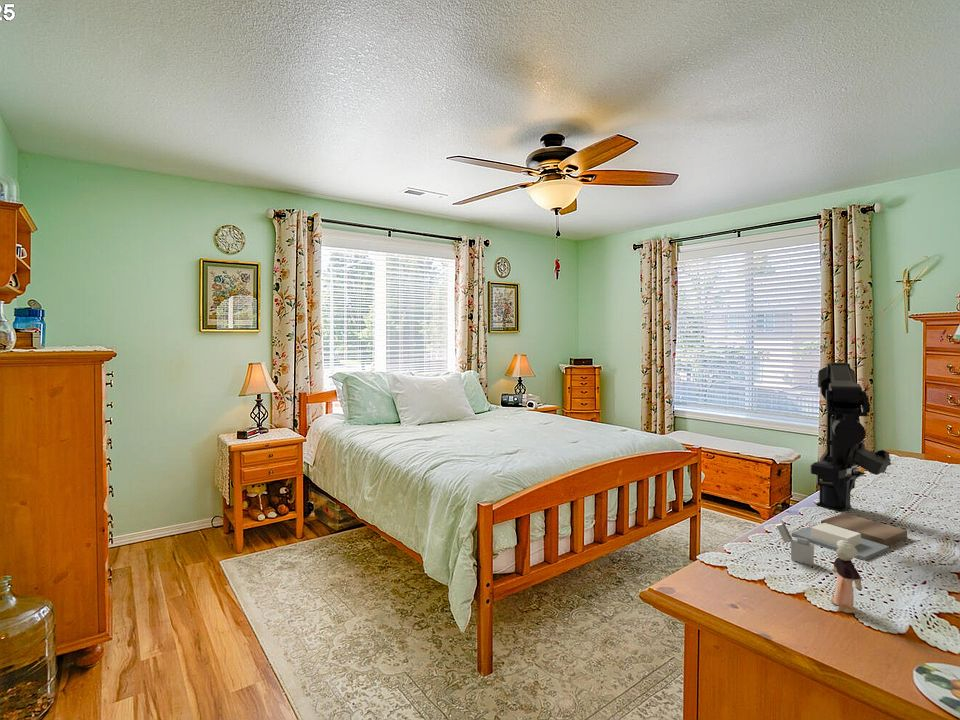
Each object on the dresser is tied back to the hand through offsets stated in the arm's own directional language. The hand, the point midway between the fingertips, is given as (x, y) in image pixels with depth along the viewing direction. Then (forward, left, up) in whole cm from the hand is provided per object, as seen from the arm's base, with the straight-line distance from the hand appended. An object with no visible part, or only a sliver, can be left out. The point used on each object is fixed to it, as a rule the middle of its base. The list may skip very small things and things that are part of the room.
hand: (844, 500), depth 120 cm
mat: (0, -2, -10) cm, 10 cm away
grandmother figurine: (+16, -32, -10) cm, 38 cm away
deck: (0, +9, -10) cm, 14 cm away
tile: (0, -4, -9) cm, 10 cm away
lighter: (0, -20, -10) cm, 23 cm away
